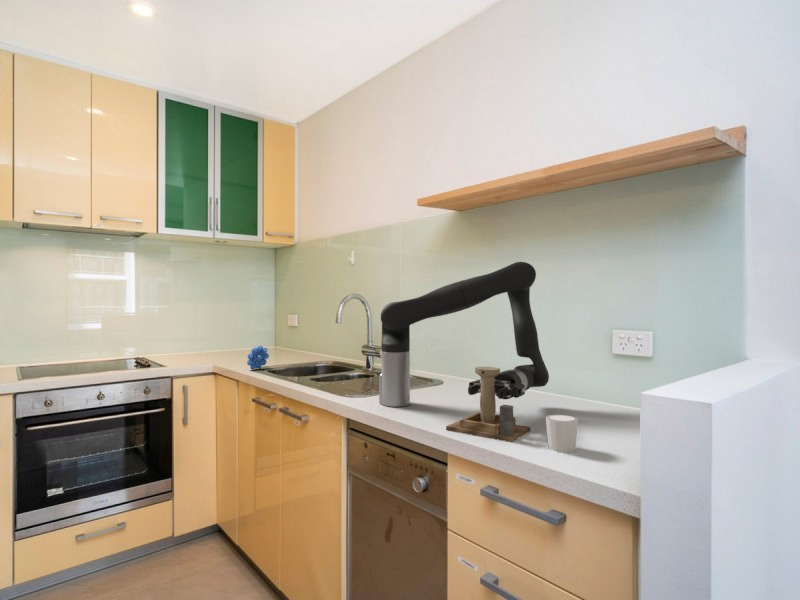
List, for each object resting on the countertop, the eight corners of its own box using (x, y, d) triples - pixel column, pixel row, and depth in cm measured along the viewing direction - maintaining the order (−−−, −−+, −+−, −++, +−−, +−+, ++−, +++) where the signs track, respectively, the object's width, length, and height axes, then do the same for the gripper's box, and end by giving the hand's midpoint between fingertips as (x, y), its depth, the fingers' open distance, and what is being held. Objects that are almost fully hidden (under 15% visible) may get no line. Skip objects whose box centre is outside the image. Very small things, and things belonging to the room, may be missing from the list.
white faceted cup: (545, 451, 101) (544, 420, 101) (546, 442, 108) (546, 412, 108) (578, 455, 99) (578, 422, 99) (578, 445, 105) (577, 415, 105)
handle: (481, 422, 122) (480, 366, 122) (503, 426, 118) (503, 368, 118) (472, 426, 119) (471, 368, 119) (494, 430, 115) (494, 370, 115)
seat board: (446, 430, 119) (445, 399, 119) (467, 420, 129) (467, 391, 129) (512, 442, 108) (511, 408, 108) (530, 430, 118) (530, 399, 118)
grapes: (264, 367, 236) (264, 344, 236) (271, 368, 232) (271, 345, 232) (243, 370, 228) (242, 345, 228) (249, 371, 223) (249, 346, 223)
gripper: (486, 368, 134) (459, 375, 121) (534, 372, 126) (510, 380, 113) (486, 393, 134) (459, 404, 121) (534, 399, 126) (511, 411, 113)
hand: (484, 392), depth 117 cm, fingers open, 8 cm apart
